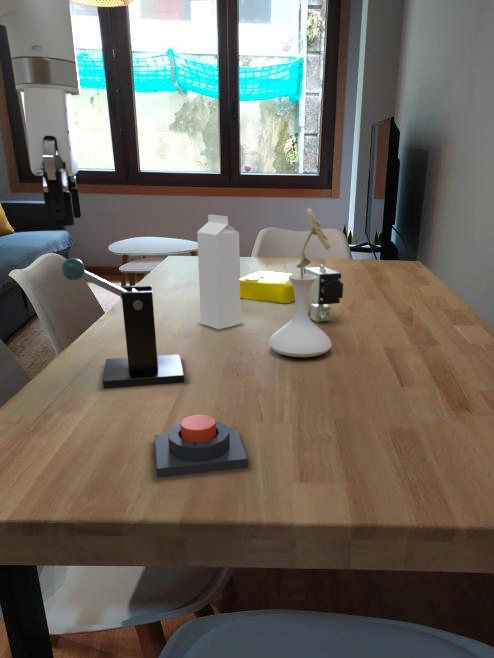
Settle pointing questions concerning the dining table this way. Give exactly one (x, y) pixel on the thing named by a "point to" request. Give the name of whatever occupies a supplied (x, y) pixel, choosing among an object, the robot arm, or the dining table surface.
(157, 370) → the lever base
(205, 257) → the milk
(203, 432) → the button
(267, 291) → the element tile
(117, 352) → the dining table surface
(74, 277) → the tap lever
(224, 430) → the button housing
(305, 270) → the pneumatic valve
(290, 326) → the flower in vase
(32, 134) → the robot arm
